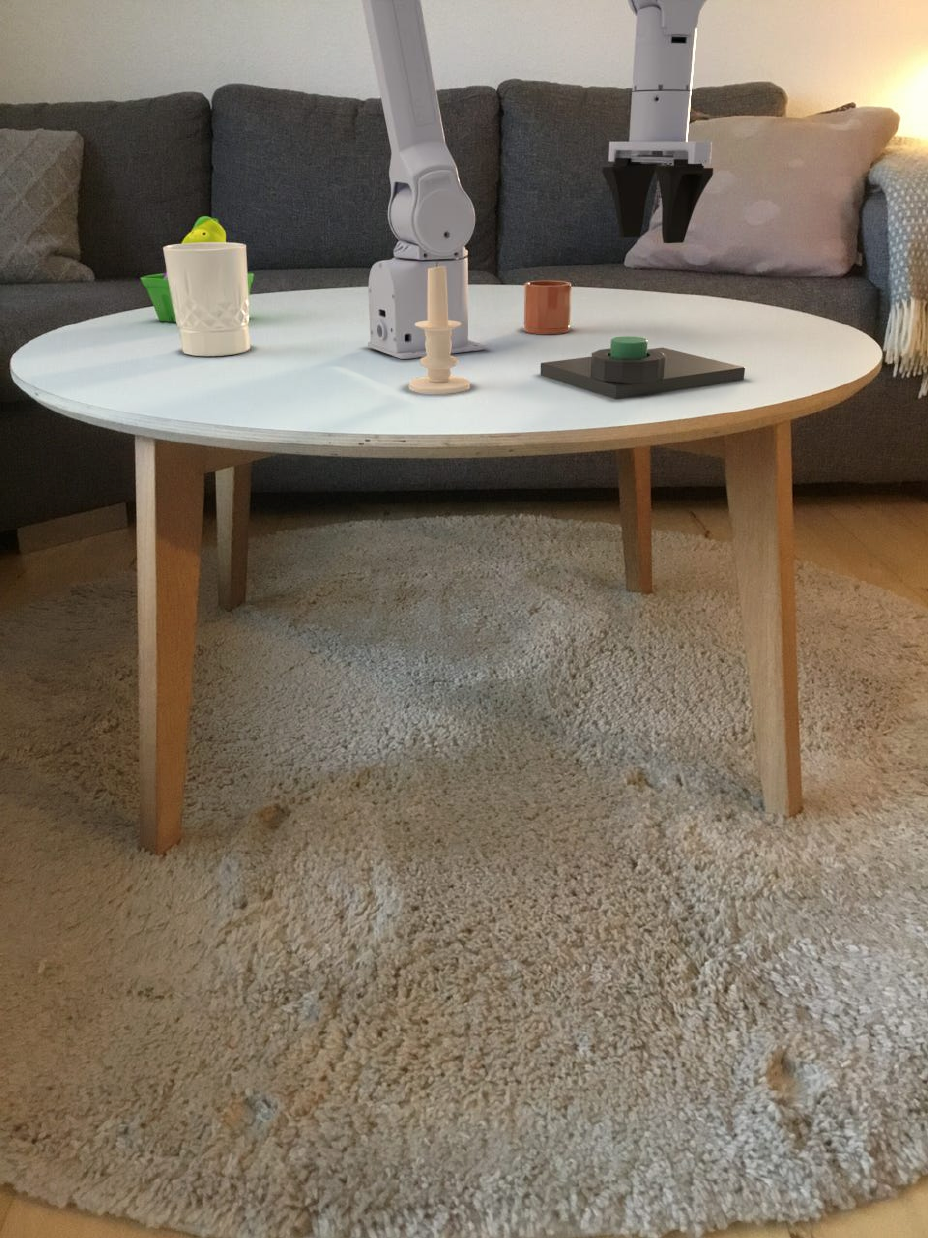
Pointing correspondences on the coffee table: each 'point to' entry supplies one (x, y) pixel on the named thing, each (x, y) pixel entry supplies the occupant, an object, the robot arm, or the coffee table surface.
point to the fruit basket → (159, 283)
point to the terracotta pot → (547, 307)
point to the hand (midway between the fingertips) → (651, 239)
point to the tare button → (628, 347)
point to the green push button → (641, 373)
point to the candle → (438, 341)
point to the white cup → (210, 296)
